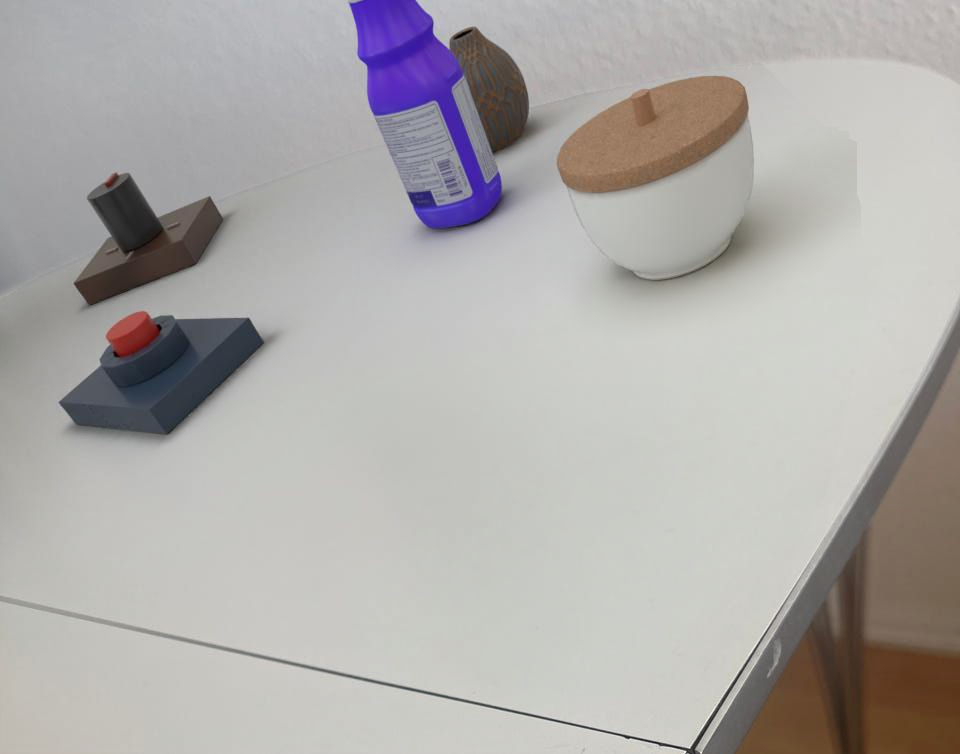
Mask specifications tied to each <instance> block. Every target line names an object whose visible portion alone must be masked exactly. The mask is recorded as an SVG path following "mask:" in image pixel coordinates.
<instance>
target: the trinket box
mask: <svg viewBox="0 0 960 754" xmlns="http://www.w3.org/2000/svg"><path fill="white" fill-rule="evenodd" d="M749 105H750V104H749V99H748V95H747V91H746V86H744V85H743V84H742V82H740V81H739V80H737V79H735V78H733V77H730V76H725V75H702V76H695V77H689V78H684V79H678V80H675V81H671V82H667V83H663V84H661V85H657V86H654V87H652V88H641V89H639V90H637V91H635V92H633V93H632V94H631V95H630V96H629V97H627V98H625V99H622V100H621V101H619V102H617V103H615V104H614V105H612V106H610V107H608V108H606V109H605V110H603V111H601V112H600V113H597V114H596V115H595V116H594V117H592V118H591V119H589V120H588V121H586V122H585V123H584V124H581V126H579V127H578V128H577V129H576V130H575V131H574V132H573V133H572V134H571V135H570V136H569V137H568V138H567V139H566V140H565V141H564V142H563V144H562V146H561V147H560V149H559V151H558V153H557V156H556V167H557V170H558V173H559V176H560V178H561V181H562V183H563V184H564V185H565V188H566V190H567V193H568V197H569V200H570V201H571V205H572V207H573V210H574V213H575V215H576V217H577V219H578V221H579V223H580V225H581V227H582V229H583V231H584V232H585V234H586V236H587V237H588V238H589V240H590V242H591V243H592V244H593V245H594V246H595V248H596V249H598V251H599V252H600V253H601V254H602V255H603V256H604V257H606V258H607V259H608V260H609V261H611V262H613V263H614V264H616V265H618V266H620V267H621V268H624V269H627V270H629V271H632V273H633V274H634V275H635V276H637V277H638V278H641V279H643V280H650V281H659V280H667V279H674V278H677V277H681V276H684V275H688V274H690V273H692V272H694V271H697V270H699V269H701V268H703V267H705V266H707V265H709V264H710V263H712V262H713V261H714V260H716V259H717V258H718V257H719V256H721V255H722V254H723V253H724V252H725V251H726V250H727V248H728V247H729V246H730V244H731V242H732V237H733V236H732V235H733V234H734V232H735V231H736V229H737V228H738V226H739V225H740V223H741V221H742V219H743V218H744V216H745V213H746V211H747V209H748V206H749V203H750V200H751V196H752V192H753V191H752V190H753V187H754V178H755V154H754V153H755V152H754V141H753V134H752V127H751V122H750V118H749V109H750V106H749Z"/></svg>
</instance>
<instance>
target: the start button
mask: <svg viewBox="0 0 960 754" xmlns="http://www.w3.org/2000/svg"><path fill="white" fill-rule="evenodd" d="M152 319H153V318H152V317H151V316H150V314H149V312H147V311H145V310H141V311H137V312H133V313H131V314H129V315H127V316H126V317H123V318H122V319H120V320H119V321H117V322H116V323H115V324H114V325H112V326H111V327H110V329H108V331H107V332H106V334H105V339H106V340H107V342H108V343H109V345H111V346H112V347H113V349H114V350H115V351H116V353H117V354H118V356H119V357H125V356H128V355H131V354H133V353H135V352H137V351H139V350H140V349H142V348H144V347H145V346H147V345H148V344H149V343H151V342H152V341H153V340H154V339H155V338H156V337H157V336H158V335H159V333H160V330H159V329H158V328H157V326H156V325H155V323H154V322H153V320H152Z"/></svg>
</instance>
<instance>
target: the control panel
mask: <svg viewBox="0 0 960 754" xmlns="http://www.w3.org/2000/svg"><path fill="white" fill-rule="evenodd" d="M157 218H158V220H159V221H160V223H161V224H162V226H163V228H162V230H161V232H160V233H159V234H158V235H157V236H156V237H154V238H153V239H152V240H150V241H149V242H147V243H146V244H144V245H142V246H140V247H138V248H136V249H133V250H131V251H126V252H123V251H121V249H120V248H119V246H118V245H117V243H116V242H115V240H114V239H113V237H112V236H110V237H108V238H106V240H105V241H104V242H103V244H102V245H101V246H100V248H99V249H98V250H97V251H96V253H95V254H94V255H93V256H92V258H91V259H90V261H88V264H86V266H85V267H84V269H82V270H81V272H80V274H79V275H78V277H76V279H75V280H74V281H73V285H74V287H75V288H76V290H77V291H78V292H79V294H80V295H81V296H82V298H83V299H84V300H85V302H86V304H87V305H88V306H91V305H94V304H96V303H99V302H101V301H104V300H106V299H109V298H112V297H114V296H117V295H119V294H122V293H125V292H127V291H130V290H132V289H134V288H137V287H140V286H142V285H145V284H147V283H150V282H153V281H155V280H159V279H161V278H163V277H165V276H168V275H171V274H173V273H176V272H178V271H181V270H183V269H186V268H189V267H191V266H194V265H197V263H198V261H199V259H200V258H201V256H202V255H203V253H204V252H205V250H206V248H207V246H208V244H209V243H210V242H211V240H212V238H213V237H214V235H215V234H216V231H217V230H218V229H219V226H220V225H221V223H222V222H223V220H224V218H223V216H222V213H221V212H220V210H219V209H218V207H217V205H216V204H215V202H214V200H213V199H212V197H211V196H210V195H209V196H208V195H207V196H206V197H204V198H202V199H199V200H197V201H194V202H192V203H189V204H187V205H185V206H182V207H180V208H177V209H174V210H172V211H170V212H168V213H164V214H163V215H160V216H157Z"/></svg>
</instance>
